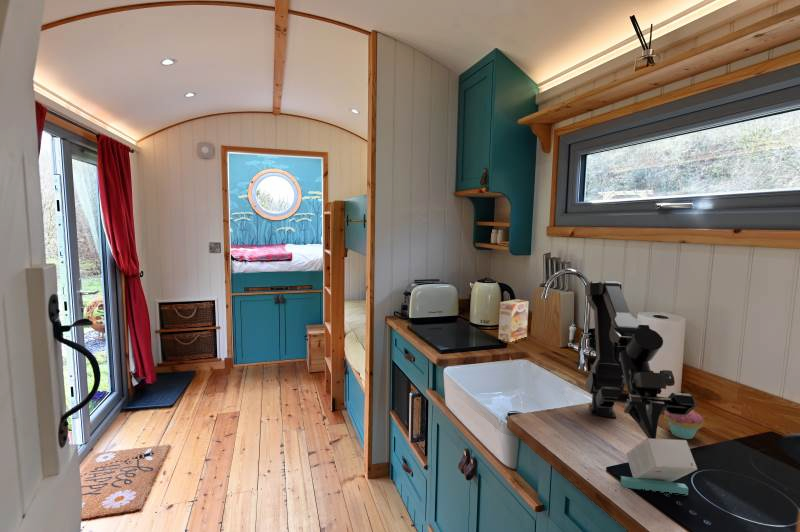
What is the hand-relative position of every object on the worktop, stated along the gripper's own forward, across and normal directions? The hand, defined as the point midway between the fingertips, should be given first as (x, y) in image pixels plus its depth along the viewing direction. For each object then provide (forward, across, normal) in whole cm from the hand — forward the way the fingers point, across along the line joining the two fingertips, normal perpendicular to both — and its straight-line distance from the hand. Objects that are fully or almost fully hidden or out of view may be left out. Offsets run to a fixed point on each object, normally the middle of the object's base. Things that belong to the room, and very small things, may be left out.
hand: (652, 440), depth 85 cm
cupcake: (-11, +17, +24) cm, 31 cm away
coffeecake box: (-70, -20, +83) cm, 110 cm away
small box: (+4, 0, +7) cm, 8 cm away
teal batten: (+8, 0, +5) cm, 10 cm away
